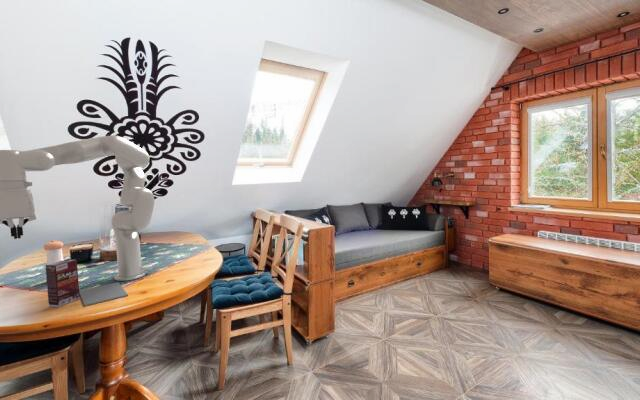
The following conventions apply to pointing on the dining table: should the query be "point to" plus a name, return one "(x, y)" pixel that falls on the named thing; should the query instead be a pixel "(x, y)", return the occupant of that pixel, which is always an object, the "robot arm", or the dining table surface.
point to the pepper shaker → (54, 251)
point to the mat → (102, 293)
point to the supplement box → (62, 282)
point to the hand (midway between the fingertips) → (17, 238)
